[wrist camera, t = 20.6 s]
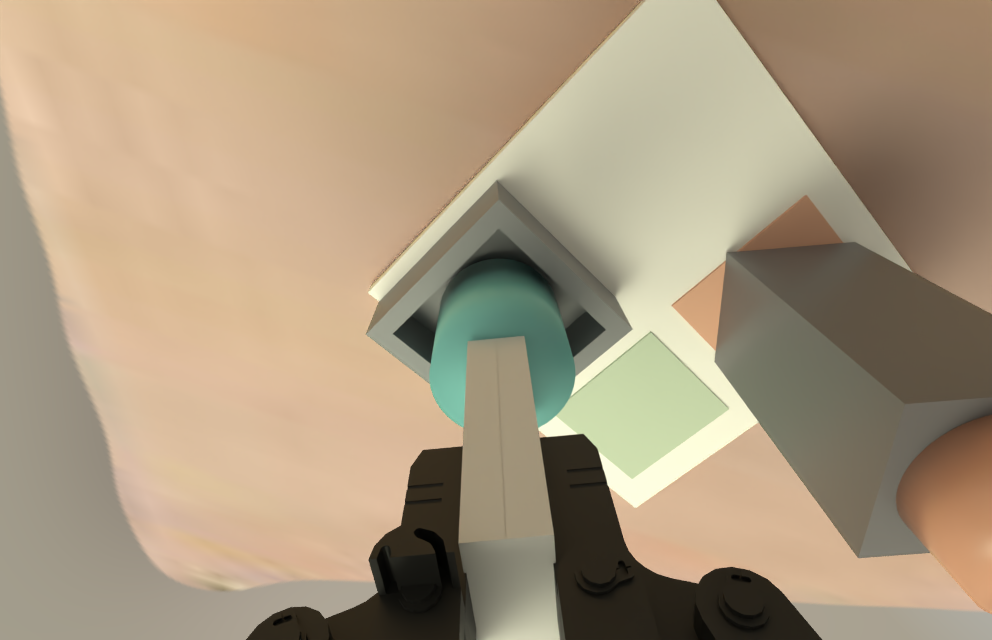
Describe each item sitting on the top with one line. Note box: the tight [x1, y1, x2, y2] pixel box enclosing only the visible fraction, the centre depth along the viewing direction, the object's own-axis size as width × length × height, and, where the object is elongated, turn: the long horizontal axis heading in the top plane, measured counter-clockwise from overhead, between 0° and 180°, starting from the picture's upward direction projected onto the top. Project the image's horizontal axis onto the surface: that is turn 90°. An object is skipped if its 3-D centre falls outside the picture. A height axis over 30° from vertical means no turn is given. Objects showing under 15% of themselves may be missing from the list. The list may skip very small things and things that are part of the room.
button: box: [429, 259, 575, 428], centre depth 17 cm, size 4×4×4 cm
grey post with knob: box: [714, 242, 992, 614], centre depth 15 cm, size 4×4×11 cm
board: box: [366, 0, 912, 508], centre depth 19 cm, size 15×14×3 cm
